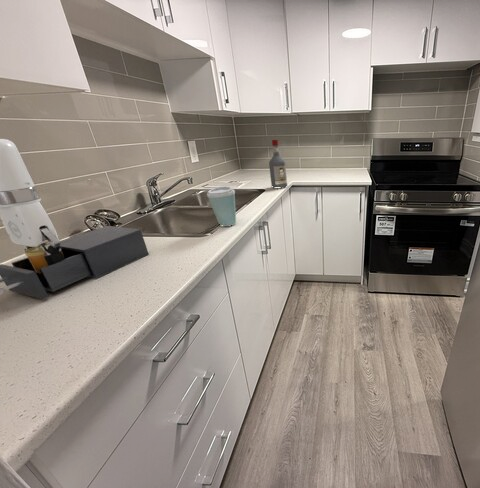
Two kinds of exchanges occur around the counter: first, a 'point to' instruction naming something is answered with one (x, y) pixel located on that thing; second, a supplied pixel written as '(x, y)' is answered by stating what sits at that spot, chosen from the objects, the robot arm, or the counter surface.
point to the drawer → (44, 275)
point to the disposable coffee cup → (223, 204)
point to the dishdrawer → (108, 248)
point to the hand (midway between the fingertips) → (50, 265)
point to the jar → (37, 257)
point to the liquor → (277, 168)
